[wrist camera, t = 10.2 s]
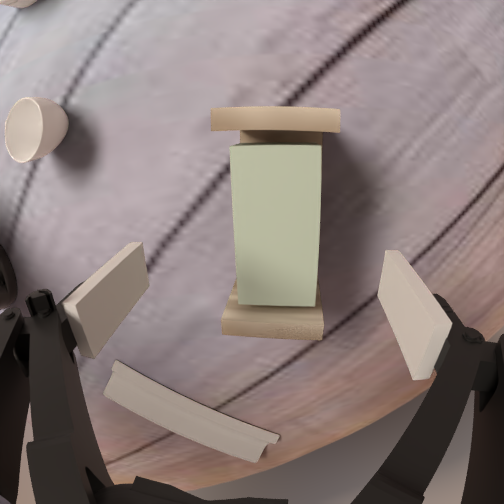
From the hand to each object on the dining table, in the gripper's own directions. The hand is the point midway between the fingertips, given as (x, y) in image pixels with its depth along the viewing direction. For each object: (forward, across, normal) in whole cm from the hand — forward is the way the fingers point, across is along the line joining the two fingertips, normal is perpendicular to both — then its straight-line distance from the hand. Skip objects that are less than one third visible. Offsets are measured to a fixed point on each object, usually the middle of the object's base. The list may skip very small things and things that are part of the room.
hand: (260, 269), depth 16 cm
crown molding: (+18, -14, -39) cm, 45 cm away
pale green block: (+11, +1, 0) cm, 11 cm away
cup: (+18, -28, +11) cm, 35 cm away
